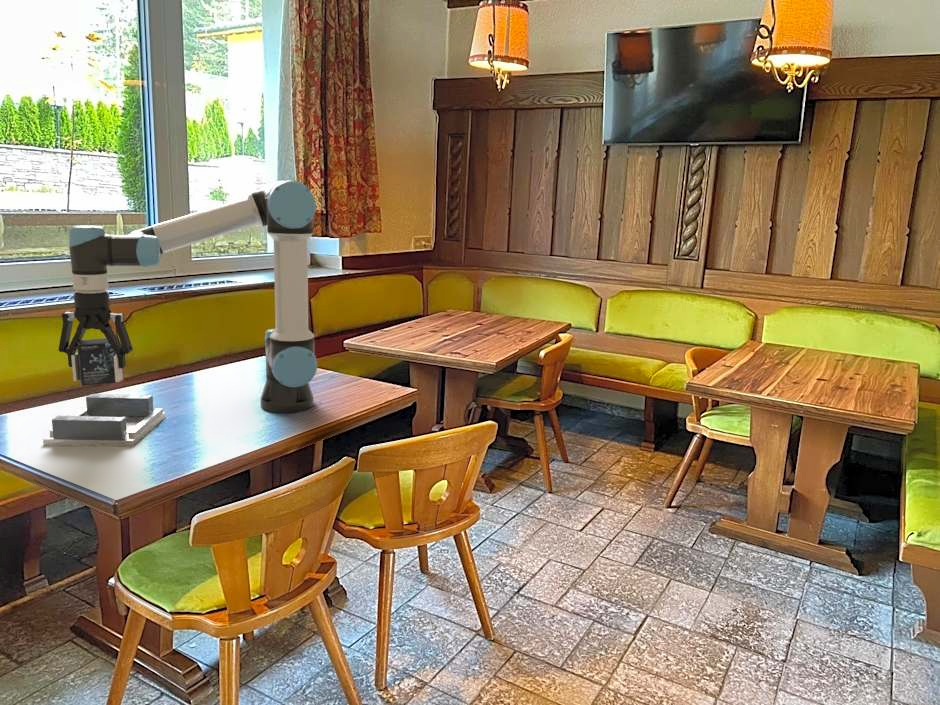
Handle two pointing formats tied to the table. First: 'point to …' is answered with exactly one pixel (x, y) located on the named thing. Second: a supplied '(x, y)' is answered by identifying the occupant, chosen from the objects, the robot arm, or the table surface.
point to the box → (96, 362)
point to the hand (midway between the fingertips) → (98, 380)
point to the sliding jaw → (119, 405)
